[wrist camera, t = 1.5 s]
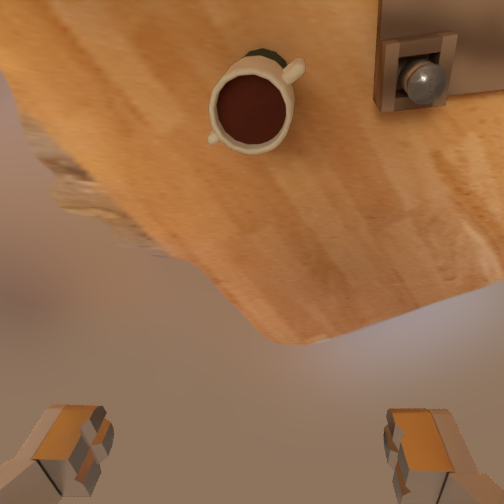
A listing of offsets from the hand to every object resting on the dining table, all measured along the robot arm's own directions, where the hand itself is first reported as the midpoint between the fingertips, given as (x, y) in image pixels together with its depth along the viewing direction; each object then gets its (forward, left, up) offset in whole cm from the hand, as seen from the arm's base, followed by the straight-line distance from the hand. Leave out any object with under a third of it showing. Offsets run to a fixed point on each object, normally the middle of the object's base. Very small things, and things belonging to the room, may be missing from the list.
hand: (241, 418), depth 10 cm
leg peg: (-1, +13, -33) cm, 36 cm away
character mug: (-1, -2, -38) cm, 38 cm away
